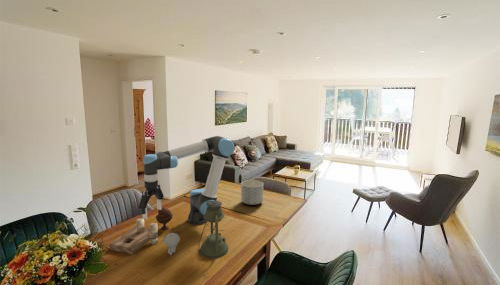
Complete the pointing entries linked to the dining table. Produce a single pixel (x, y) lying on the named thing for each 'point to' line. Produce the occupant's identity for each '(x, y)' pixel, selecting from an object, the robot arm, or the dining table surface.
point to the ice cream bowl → (164, 218)
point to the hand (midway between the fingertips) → (152, 213)
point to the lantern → (214, 242)
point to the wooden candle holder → (132, 239)
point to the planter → (252, 192)
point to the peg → (154, 233)
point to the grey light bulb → (171, 242)
